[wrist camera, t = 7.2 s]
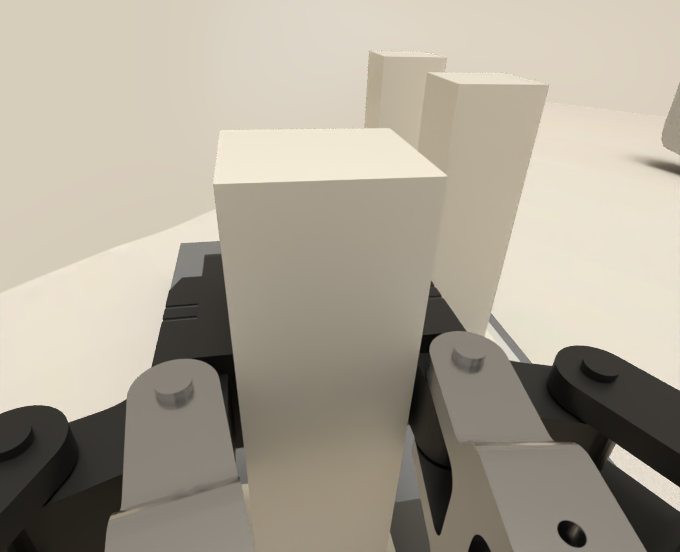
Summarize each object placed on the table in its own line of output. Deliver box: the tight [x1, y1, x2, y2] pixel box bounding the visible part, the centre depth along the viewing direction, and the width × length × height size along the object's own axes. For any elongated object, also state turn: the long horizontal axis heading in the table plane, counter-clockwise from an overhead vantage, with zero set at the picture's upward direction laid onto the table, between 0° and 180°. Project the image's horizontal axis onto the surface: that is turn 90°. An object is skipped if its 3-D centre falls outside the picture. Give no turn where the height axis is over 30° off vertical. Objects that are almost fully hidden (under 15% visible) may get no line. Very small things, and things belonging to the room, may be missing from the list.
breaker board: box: [171, 51, 616, 552], centre depth 16 cm, size 15×22×12 cm
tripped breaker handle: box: [213, 128, 448, 552], centre depth 9 cm, size 4×3×10 cm
